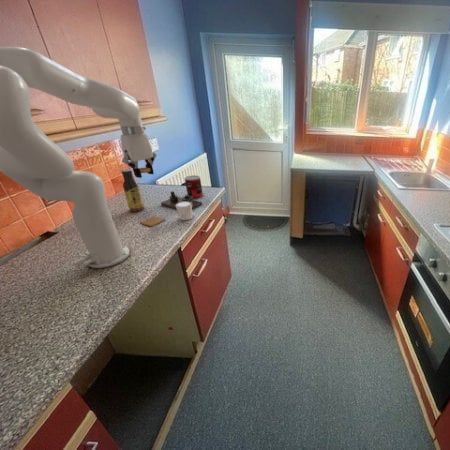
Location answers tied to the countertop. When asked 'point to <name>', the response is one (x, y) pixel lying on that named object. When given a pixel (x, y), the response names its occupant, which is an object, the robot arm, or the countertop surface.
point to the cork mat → (152, 221)
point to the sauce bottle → (132, 191)
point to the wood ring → (187, 199)
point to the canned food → (193, 186)
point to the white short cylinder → (184, 210)
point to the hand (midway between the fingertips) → (144, 175)
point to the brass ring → (144, 170)
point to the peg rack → (175, 200)
